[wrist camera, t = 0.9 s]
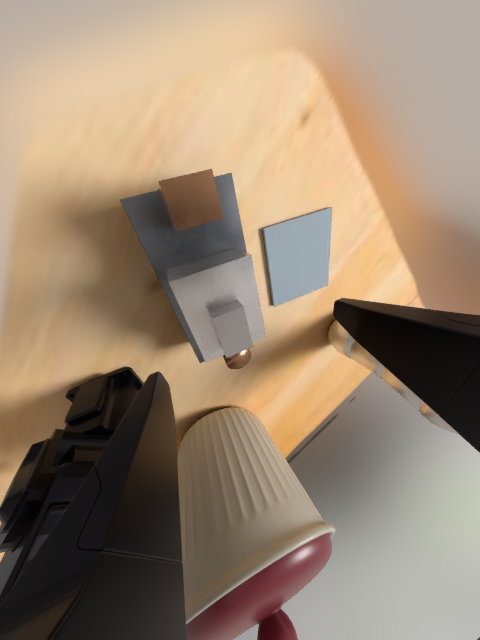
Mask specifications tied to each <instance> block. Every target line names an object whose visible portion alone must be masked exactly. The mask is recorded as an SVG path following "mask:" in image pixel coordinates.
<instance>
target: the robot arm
mask: <svg viewBox="0 0 480 640" xmlns="http://www.w3.org/2000/svg"><path fill="white" fill-rule="evenodd" d="M333 316H334V318H335V319H336V320H337V321H338V322H339V324H340V325H341V326H342V327H343V328H344V329H345V330H346V331H347V332H348V333H349V335H350V336H351V337H352V338H353V339H354V340H355V341H356V342H357V343H359V344H360V345H361V346H362V347H363V348H364V349H365V350H366V351H367V352H369V353H370V354H371V355H372V356H373V357H374V358H375V359H376V360H377V361H379V362H380V363H381V364H382V365H383V366H384V367H385V368H386V369H387V370H389V371H390V372H391V373H392V374H393V375H394V376H395V377H396V378H397V379H399V380H400V381H401V382H402V383H403V384H404V385H405V386H406V387H408V388H409V389H410V390H411V391H412V392H413V393H414V394H415V395H416V396H418V397H419V398H420V399H421V400H422V401H423V402H424V403H425V404H426V405H428V406H429V407H430V408H431V409H432V410H433V411H434V412H435V413H436V414H438V415H439V416H440V417H441V418H442V419H443V420H444V421H445V422H446V423H447V424H449V425H450V426H451V427H452V428H453V429H454V430H455V431H456V432H457V433H459V434H460V435H461V436H462V437H463V438H464V439H465V440H466V441H467V442H469V443H470V444H471V445H472V446H473V447H474V448H475V449H477V451H479V452H480V315H472V314H462V313H454V312H446V311H439V310H436V311H435V310H431V309H423V308H415V307H408V306H400V305H393V304H385V303H377V302H370V301H362V300H355V299H347V298H341V299H339V300H336V301H335V303H334V311H333ZM126 372H128V373H126ZM73 394H74V395H73ZM66 398H67V399H69V400H70V401H71V402H72V405H71V408H70V410H69V412H68V414H67V416H66V419H65V423H67V424H66V427H65V429H64V430H60V429H56V430H55V431H54V432H53V434H52V435H51V437H50V438H49V439H47V440H44V441H42V442H39V443H36V444H33V445H32V446H31V448H30V449H29V451H28V453H27V455H26V456H25V458H24V460H23V462H22V464H21V465H20V467H19V469H18V471H17V473H16V475H15V477H14V479H13V481H12V483H11V485H10V487H9V489H8V491H7V493H6V495H5V497H4V500H3V502H2V504H1V506H0V521H1V523H2V524H1V527H0V553H1V552H5V554H4V556H3V558H2V560H1V562H0V640H187V635H186V616H185V597H184V578H183V563H182V542H181V522H180V503H179V484H178V465H177V445H176V426H175V416H174V410H173V405H172V399H171V393H170V388H169V384H168V382H167V381H166V379H165V378H164V377H163V375H162V374H161V373H160V372H156V373H153V374H151V375H149V376H148V378H147V380H146V381H145V383H143V382H142V381H141V379H140V378H139V377H138V376H137V374H136V373H135V372H134V371H133V369H132V368H129V367H126V368H123V369H121V370H118V371H116V372H113V373H111V374H108V375H105V376H102V377H100V378H97V379H95V380H92V381H90V382H87V383H85V384H82V385H81V386H78V387H76V388H73V389H71V390H69V391H68V392H67V394H66ZM477 640H480V637H479V638H478V639H477Z"/></svg>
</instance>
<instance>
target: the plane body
mask: <svg viewBox="0 0 480 640" xmlns="http://www.w3.org/2000/svg"><path fill="white" fill-rule="evenodd" d="M120 201H121V203H122V205H123V207H124V209H125V211H126V213H127V215H128V217H129V219H130V221H131V223H132V225H133V227H134V229H135V231H136V233H137V236H138V238H139V240H140V242H141V244H142V246H143V248H144V250H145V252H146V254H147V256H148V258H149V260H150V262H151V264H152V266H153V268H154V270H155V272H156V274H157V276H158V278H159V280H160V282H161V284H162V286H163V289H164V291H165V293H166V295H167V297H168V299H169V301H170V303H171V305H172V307H173V309H174V311H175V313H176V315H177V317H178V319H179V321H180V323H181V325H182V327H183V329H184V331H185V333H186V335H187V337H188V339H189V342H190V344H191V346H192V348H193V350H194V352H195V354H196V356H197V358H198V360H199V362H200V363H202V362H204V361H205V360H204V358H203V355H202V353H201V351H200V349H199V347H198V345H197V343H196V340H195V338H194V336H193V334H192V332H191V330H190V327H189V325H188V323H187V321H186V319H185V317H184V315H183V312H182V310H181V308H180V306H179V304H178V302H177V299H176V297H175V295H174V293H173V291H172V289H171V287H170V284H169V282H168V274H167V269H170V268H173V267H177V266H180V265H183V264H186V263H189V262H192V261H195V260H198V259H201V258H204V257H208V256H211V255H214V254H217V253H220V252H223V251H226V250H229V249H232V248H235V247H236V248H238V249H240V250H242V251H245V252H247V251H246V246H245V241H244V236H243V231H242V225H241V220H240V215H239V210H238V205H237V199H236V194H235V189H234V184H233V179H232V173H228V174H224V175H220V176H216V177H214V176H213V172H212V169H209V170H205V171H201V172H197V173H192V174H188V175H184V176H179V177H175V178H171V179H167V180H162V181H159V190H158V191H154V192H150V193H146V194H142V195H138V196H134V197H130V198H125V199H121V200H120ZM223 357H224V360H225V362H226V364H227V366H228V367H229V368H231V369H240V368H242V367H244V366H245V365H247V364H248V363H249V361H250V359H251V352H250V350H249V349H246V350H244V351H242V352H239V353H237V354H235V355H232V356H230V357H228V358H226V356H225V355H223Z"/></svg>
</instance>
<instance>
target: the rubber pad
mask: <svg viewBox="0 0 480 640" xmlns="http://www.w3.org/2000/svg"><path fill="white" fill-rule="evenodd" d="M331 220H332V207H329V208H326V209H323V210H320V211H316V212H313V213H310V214H307V215H303V216H300V217H297V218H294V219H291V220H287V221H284V222H281V223H278V224H275V225H271V226H268V227H265V228H262V229H263V237H264V244H265V251H266V259H267V266H268V273H269V281H270V288H271V295H272V303H273V306H274V307H275V306H278V305H280V304H283V303H285V302H288V301H290V300H293V299H295V298H298V297H300V296H303V295H305V294H308V293H310V292H313V291H315V290H318V289H320V288H323V287H325V286H328V276H329V257H330V238H331Z"/></svg>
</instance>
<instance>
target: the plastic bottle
mask: <svg viewBox="0 0 480 640" xmlns="http://www.w3.org/2000/svg"><path fill="white" fill-rule="evenodd" d="M328 336H329V341H330V343H331V345H332V346H333V347H334V348H335V349H336V350H337V351H338V352H340V353H341V354H343V355H345V356H347V357H349V358H351V359H353V360H355V361H356V362H358V363H359V364H361V365H363V366H364V367H366V368H367V369H369V370H370V371H372V372H373V373H375V374H376V375H377V376H379V377H380V378H381V379H383V380H384V381H385V382H386V383H387V384H389V385H390V386H391V387H392V388H393V389H395V390H396V391H397V392H398V393H399V394H400V395H401V396H402V397H403V398H404V399H406V400H407V401H408V402H409V403H410V404H411V405H412V406H413V407H414V408H415V409H416V410H417V411H418V412H420V413H421V414H422V415H423V416H424V417H425V418H426V419H427V420H429V421H430V422H431V423H433V424H435V425H437V426H438V427H440V428H442V429H445V430H448V431H451V432H454V433H457V432H456V431H455V430H454V429H453V428H452V427H451V426H450V425H449V424H447V423H446V422H445V421H444V420H443V419H442V418H441V417H440V416H439V415H438V414H436V413H435V412H434V411H433V410H432V409H431V408H430V407H429V406H428V405H426V404H425V403H424V402H423V401H422V400H421V399H420V398H419V397H418V396H416V395H415V394H414V393H413V392H412V391H411V390H410V389H409V388H408V387H406V386H405V385H404V384H403V383H402V382H401V381H400V380H399V379H397V378H396V377H395V376H394V375H393V374H392V373H391V372H390V371H389V370H387V369H386V368H385V367H384V366H383V365H382V364H381V363H380V362H379V361H377V360H376V359H375V358H374V357H373V356H372V355H371V354H370V353H369V352H367V351H366V350H365V349H364V348H363V347H362V346H361V345H360V344H359V343H357V342H356V341H355V340H354V339H353V338H352V337H351V336H350V335H349V333H348V332H347V331H346V330H345V329H344V328H343V327H342V326H341V325H340V324H339V322H338V321H337V320H335V321H334V322H333V324H332V325H331V327H330V329H329V333H328ZM457 434H459V433H457Z"/></svg>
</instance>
